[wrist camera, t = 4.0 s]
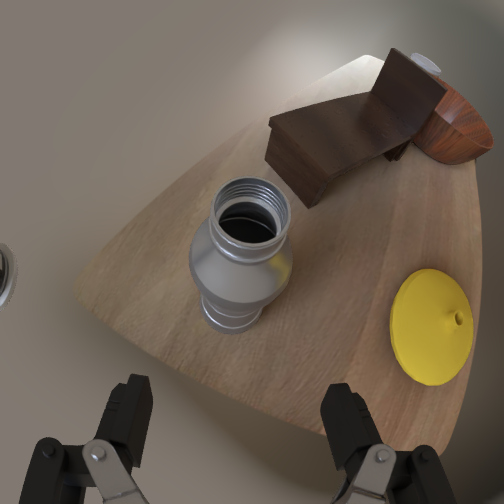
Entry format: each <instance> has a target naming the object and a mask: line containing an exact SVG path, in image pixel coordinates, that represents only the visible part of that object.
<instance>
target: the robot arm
mask: <svg viewBox="0 0 504 504" xmlns="http://www.w3.org/2000/svg"><path fill="white" fill-rule="evenodd" d="M8 273H9V265H8V260H7V257H6V255H5V253H4V252H2V251H1V250H0V296H1V295H2V293H3V291H4V289H5V286H6V283H7V280H8ZM152 407H153V396H152V392H151V387H150V382H149V378H148V376H143V375H137V374H131V375H130V377H129V380H128V383H127V384H122V383H119V384H118V385H117V386H116V387H115V388H114V389H113V390H112V392H111V394H110V397H109V401H108V402H107V405H106V409H105V410H104V413H103V416H102V418H101V421H100V424H99V427H98V430H97V433H96V435H95V437H94V439H93V440H91V441H89V442H88V443H87V444H85V445H80V446H74V445H62V444H61V443H60V442H59V441H58V440H56V439H54V438H50V437H48V438H47V437H46V438H43V439H41V440H39V441H38V443H37V444H36V447H35V449H34V452H33V455H32V458H31V461H30V464H29V468H28V471H27V474H26V477H25V481H24V485H23V489H22V492H21V496H20V500H19V504H84V498H85V492H86V487H97V488H98V490H99V492H100V494H101V496H102V498H103V504H149V502H148V501H147V500H146V498H145V497H144V495H143V494H142V492H141V491H140V489H139V487H138V486H137V484H136V483H135V481H134V479H133V478H132V476H131V472H132V467H138V468H140V464H141V459H142V454H143V449H144V444H145V439H146V435H147V430H148V426H149V421H150V417H151V412H152ZM320 412H321V417H322V421H323V424H324V428H325V431H326V434H327V438H328V441H329V445H330V448H331V452H332V455H333V459H334V462H335V466H336V469H337V471H340V470H345V471H346V475H345V477H344V479H343V481H342V483H341V484H340V486H339V488H338V490H337V492H336V494H335V496H334V497H333V499H332V501H331V503H330V504H385V502H386V498H384V497H383V495H384V492H385V490H386V492H387V496H388V499H389V503H390V504H457V503H456V500H455V497H454V494H453V492H452V489H451V487H450V484H449V482H448V479H447V477H446V475H445V472H444V469H443V467H442V465H441V462H440V460H439V458H438V455H437V453H436V451H435V450H434V449H433V448H432V447H431V446H428V445H420V446H418V447H416V448H415V449H414V450H413V451H394V450H393V448H391V447H390V446H389V445H386V444H384V443H383V442H382V440H381V438H380V435H379V433H378V431H377V428H376V426H375V424H374V421H373V419H372V417H371V414H370V412H369V410H368V408H367V405H366V403H365V401H364V399H363V398H362V397H361V396H360V395H359V394H358V393H352V392H351V390H350V387H349V385H348V384H347V383H338V384H330V386H329V388H328V390H327V392H326V394H325V397H324V399H323V401H322V403H321V408H320Z"/></svg>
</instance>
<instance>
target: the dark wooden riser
mask: <svg viewBox="0 0 504 504" xmlns="http://www.w3.org/2000/svg"><path fill="white" fill-rule="evenodd" d="M447 91H448V89H447V88H446V87H445V86H443V85H442V84H441V83H440V82H439V81H438V80H436V79H435V78H434V77H433V76H432V75H430V74H429V73H428V72H427V71H425V70H424V69H423V68H422V67H420V66H419V65H418V64H416V63H415V62H414V61H412V60H411V59H409V58H408V57H407V56H405V55H404V54H402V53H401V52H400V51H398V50H396V49H395V48H391V50H390V52H389V54H388V57H387V59H386V61H385V63H384V65H383V67H382V69H381V71H380V73H379V75H378V77H377V80H376V82H375V84H374V86H373V88H372V90H371V91H370V92H365V93H360V94H355V95H350V96H346V97H341V98H337V99H333V100H329V101H325V102H321V103H317V104H313V105H310V106H306V107H302V108H299V109H295V110H292V111H289V112H285V113H282V114H279V115H276V116H272V117H270V120H269V126H270V127H271V128H272V130H271V134H270V138H269V142H268V147H267V151H266V155H265V161H266V162H267V163H268V164H269V165H270V166H271V167H272V168H273V169H274V170H275V171H276V173H277V174H278V175H279V176H280V177H281V178H282V179H283V180H284V181H285V183H286V184H287V185H288V186H289V187H290V188H291V189H292V190H293V192H294V193H295V194H296V195H297V196H298V197H299V198H300V200H301V201H302V202H303V203H304V204H305V205H306V207H307V208H308V209H309V208H311V207H313V206H314V205H316V204H317V202H318V200H319V199H320V197H321V195H322V193H323V191H324V190H325V188H326V186H327V184H328V182H329V181H331V180H332V179H334V178H336V177H338V176H340V175H342V174H344V173H346V172H348V171H350V170H351V169H353V168H355V167H357V166H359V165H361V164H363V163H365V162H367V161H369V160H371V159H373V158H375V157H376V156H378V155H380V154H383V155H384V156H385V157H386V158H387V159H388V160H389V161H390V162H391V161H392V160H395V161H398V160H399V159H400V158H401V156H402V155H403V154H404V152H405V151H406V150H407V148H408V147H409V146H410V144H411V143H412V141H413V140H414V139H415V137H416V136H417V134H418V133H419V132H420V130H421V129H422V127H423V126H424V125H425V123H426V122H427V120H428V119H429V117H430V116H431V114H432V113H433V111H434V110H435V109H436V107H437V106H438V104H439V103H440V101H441V100H442V98H443V97H444V95H445V94H446V92H447Z"/></svg>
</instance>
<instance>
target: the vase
mask: <svg viewBox="0 0 504 504" xmlns="http://www.w3.org/2000/svg"><path fill="white" fill-rule="evenodd" d="M389 328H390V336H391V344H392V347H393V350H394V353H395V356H396V359H397V360H398V362H399V364H400V365H401V367H402V369H403V370H404V371H405V372H406V373H407V374H408V375H409V376H410V377H411V378H413V379H414V380H416V381H418V382H421V383H423V384H425V385H441V384H443V383H446V382H448V381H450V380H451V379H452V378H453V377H454V376H455V375H457V374H458V372H459V371H460V369H461V368H462V366H463V365H464V363H465V362H466V360H467V358H468V355H469V352H470V350H471V346H472V340H473V318H472V312H471V308H470V305H469V302H468V299H467V297H466V295H465V294H464V292H463V290H462V288H461V287H460V286H459V285H458V284H457V283H456V281H455V280H454V279H452V278H451V277H449V276H448V275H446V274H445V273H443V272H441V271H438V270H435V269H421V270H419V271H417V272H415V273H412V274H411V275H410V276H409V277H408V278H407V279H406V280H405V281H404V282H403V284H402V286H401V287H400V289H399V291H398V293H397V294H396V296H395V298H394V301H393V305H392V309H391V312H390V327H389Z"/></svg>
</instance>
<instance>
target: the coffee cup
mask: <svg viewBox="0 0 504 504" xmlns="http://www.w3.org/2000/svg"><path fill="white" fill-rule="evenodd" d="M410 59H411V60H412V61H414V62H415V63H416V64H418V65H419V66H420V67H422V68H423V69H424V70H425V71H427V72H428V73H430V74H432V75H434V76H436V77H439V76H440V75H441V70H440V69H439V68H438V67H437V66H436V65H435V64H434V63H433V62H431V61H430V60H429V59H427V58H425V57H424V56H422V55H420V54H417V53H413V54H411V57H410Z"/></svg>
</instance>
